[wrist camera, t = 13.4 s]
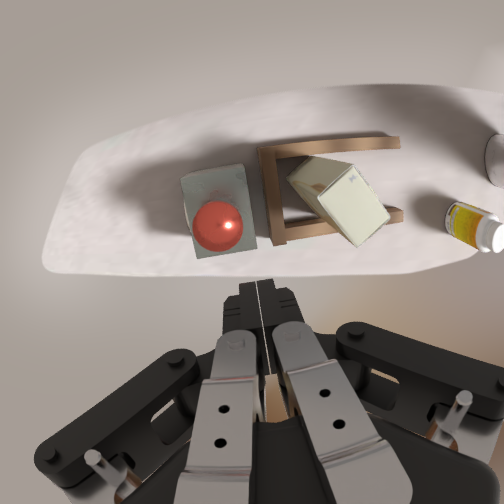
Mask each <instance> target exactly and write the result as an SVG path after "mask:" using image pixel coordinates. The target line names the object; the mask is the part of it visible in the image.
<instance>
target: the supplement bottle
mask: <svg viewBox="0 0 504 504" xmlns="http://www.w3.org/2000/svg"><path fill="white" fill-rule="evenodd" d="M445 225H446V229H447V231H448V233H449V234H450V235H452V236H453V237H455V238H457V239H459V240H461V241H463V242H465V243H467V244H469V245H471V246H473V247H474V248H476V249H478V250H480V251H482V252H489V251H493V252H495V253H498V252H500V251H501V250H502V249H503V248H504V224H502V223H500V222H499V219H498V217H497V216H496V215H495V214H493V213H490V212H488V211H485V210H483V209H480V208H477V207H475V206H472V205H469V204H466V203H463V202H456V203H454V204H452V205H451V206H450V208H449V209H448V211H447V214H446V219H445Z"/></svg>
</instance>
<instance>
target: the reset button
mask: <svg viewBox="0 0 504 504" xmlns="http://www.w3.org/2000/svg"><path fill="white" fill-rule="evenodd" d="M192 230H193V235H194V237H195V239H196V241H197V242H198V243H199V244H200V245H201V246H202V247H203V248H205V249H207V250H209V251H214V252H222V251H226V250H229V249H231V248H232V247H234V246H235V245H236V244H237V243H238V242H239V240H240V238H241V236H242V233H243V221H242V217H241V214H240V213H239V211H238V210H237V208H236V207H235V206H233V205H232V204H230V203H228V202H226V201H221V200H216V201H211V202H208V203H206V204H204V205H203V206H202V207H201V208H200V209H199V210H198V211H197V213H196V215H195V217H194V220H193V224H192Z"/></svg>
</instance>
